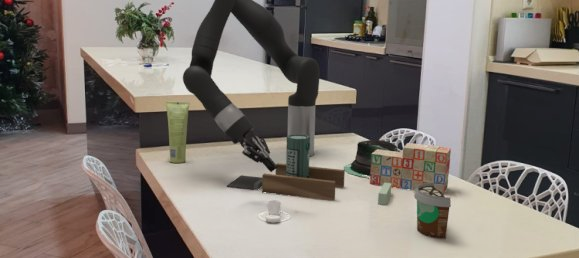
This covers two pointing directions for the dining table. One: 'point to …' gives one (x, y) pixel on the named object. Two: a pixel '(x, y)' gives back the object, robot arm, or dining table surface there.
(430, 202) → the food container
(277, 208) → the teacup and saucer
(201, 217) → the dining table surface
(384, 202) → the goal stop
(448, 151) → the stack of blocks
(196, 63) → the robot arm
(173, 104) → the tube
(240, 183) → the mat
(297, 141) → the can
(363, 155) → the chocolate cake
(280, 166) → the lane
